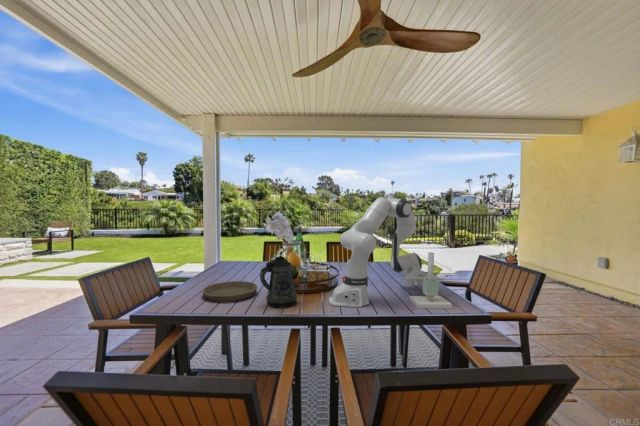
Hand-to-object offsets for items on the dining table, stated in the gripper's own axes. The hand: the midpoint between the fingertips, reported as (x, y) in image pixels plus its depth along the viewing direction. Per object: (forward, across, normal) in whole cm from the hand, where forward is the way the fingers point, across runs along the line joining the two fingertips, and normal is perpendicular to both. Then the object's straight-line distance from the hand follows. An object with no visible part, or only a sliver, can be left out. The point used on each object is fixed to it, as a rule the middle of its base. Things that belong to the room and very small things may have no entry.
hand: (426, 283), depth 169 cm
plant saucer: (-10, -113, +9) cm, 114 cm away
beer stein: (+6, -82, +9) cm, 83 cm away
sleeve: (+6, 0, +4) cm, 7 cm away
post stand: (+6, 0, +10) cm, 11 cm away
